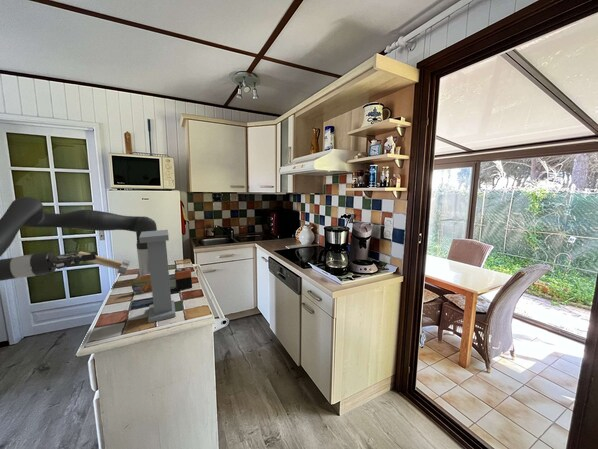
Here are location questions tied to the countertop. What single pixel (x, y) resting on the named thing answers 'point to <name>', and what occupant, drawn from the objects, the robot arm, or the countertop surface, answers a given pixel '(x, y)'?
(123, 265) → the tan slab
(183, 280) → the battery
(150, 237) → the shelf post
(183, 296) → the countertop surface
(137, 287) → the tin
